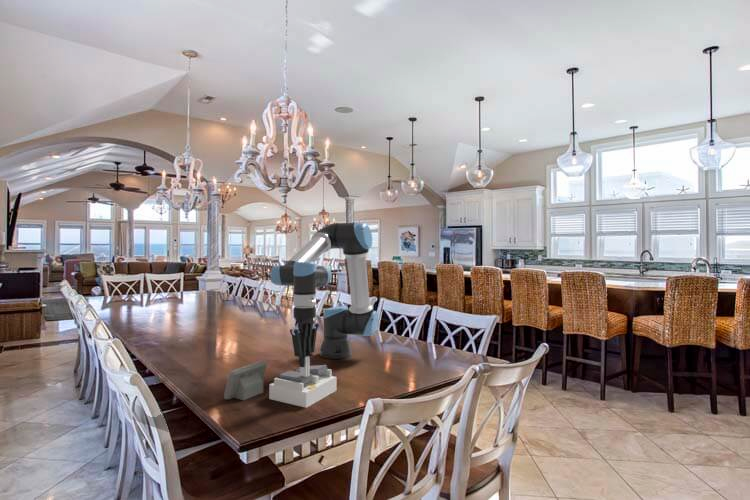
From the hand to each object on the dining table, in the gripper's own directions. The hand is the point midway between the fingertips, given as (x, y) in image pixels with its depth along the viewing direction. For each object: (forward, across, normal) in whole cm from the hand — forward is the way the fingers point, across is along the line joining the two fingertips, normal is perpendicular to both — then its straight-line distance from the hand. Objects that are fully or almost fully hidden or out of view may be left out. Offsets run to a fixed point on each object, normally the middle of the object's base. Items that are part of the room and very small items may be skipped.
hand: (304, 375), depth 138 cm
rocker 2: (+2, +9, +4) cm, 10 cm away
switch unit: (+9, +5, +4) cm, 11 cm away
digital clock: (+9, -4, +23) cm, 25 cm away
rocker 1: (+3, 0, +4) cm, 5 cm away
